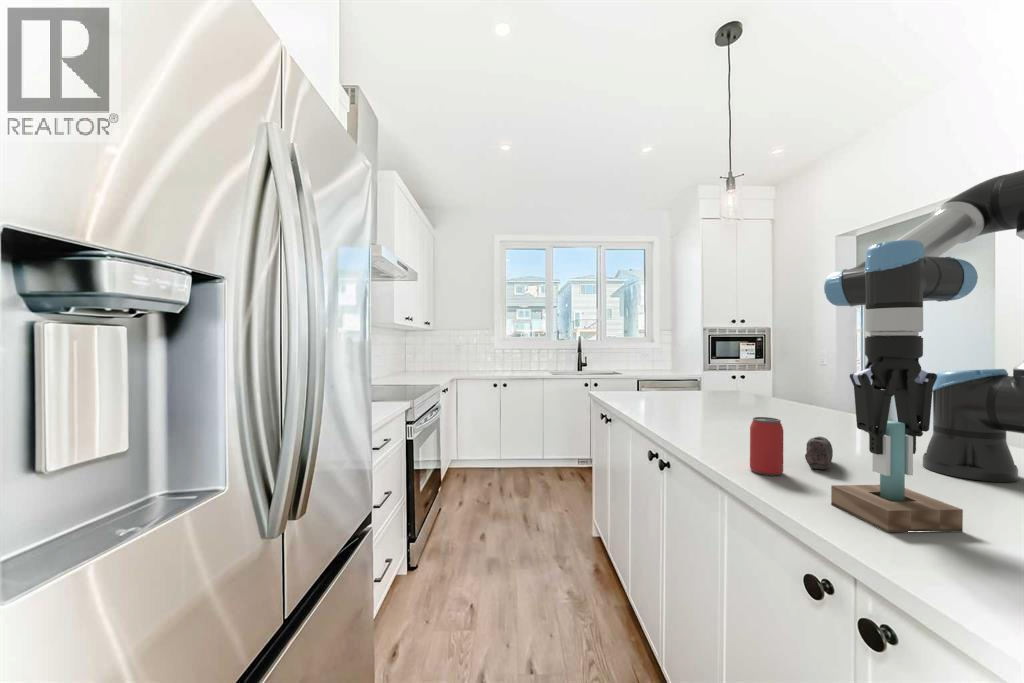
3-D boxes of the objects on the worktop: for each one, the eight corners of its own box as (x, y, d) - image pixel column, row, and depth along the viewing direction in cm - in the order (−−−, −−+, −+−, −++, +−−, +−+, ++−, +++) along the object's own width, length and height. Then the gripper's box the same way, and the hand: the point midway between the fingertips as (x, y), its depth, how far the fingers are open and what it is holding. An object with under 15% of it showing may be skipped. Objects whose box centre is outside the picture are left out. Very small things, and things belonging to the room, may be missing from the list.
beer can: (788, 477, 99) (788, 422, 99) (755, 475, 100) (755, 421, 100) (776, 468, 105) (777, 417, 105) (746, 467, 106) (746, 416, 106)
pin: (893, 501, 78) (893, 420, 78) (909, 508, 75) (910, 424, 75) (875, 502, 78) (875, 421, 78) (891, 509, 75) (891, 424, 75)
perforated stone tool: (810, 457, 116) (810, 429, 116) (835, 460, 112) (836, 432, 112) (802, 470, 104) (802, 440, 104) (830, 475, 101) (830, 443, 101)
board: (895, 503, 83) (895, 484, 83) (962, 531, 71) (962, 509, 71) (831, 504, 83) (831, 485, 83) (888, 533, 71) (888, 510, 71)
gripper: (919, 334, 81) (918, 466, 81) (829, 334, 80) (829, 467, 80) (962, 334, 73) (961, 479, 73) (864, 334, 72) (863, 480, 73)
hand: (892, 472), depth 77 cm, fingers closed on pin, 3 cm apart
